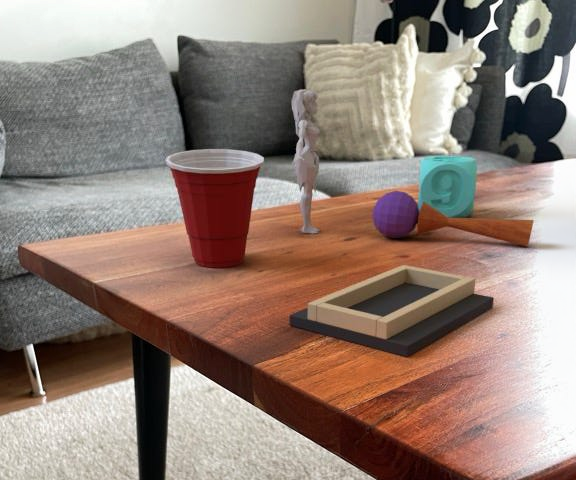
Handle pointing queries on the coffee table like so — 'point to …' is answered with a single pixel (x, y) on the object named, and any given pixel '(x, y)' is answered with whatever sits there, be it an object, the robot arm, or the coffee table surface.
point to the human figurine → (306, 151)
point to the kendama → (441, 221)
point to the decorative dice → (448, 184)
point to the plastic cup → (216, 201)
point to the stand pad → (396, 309)
